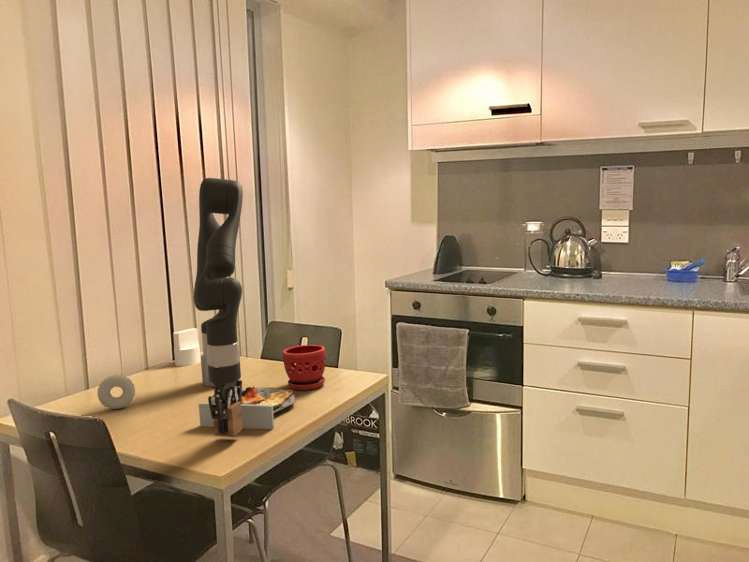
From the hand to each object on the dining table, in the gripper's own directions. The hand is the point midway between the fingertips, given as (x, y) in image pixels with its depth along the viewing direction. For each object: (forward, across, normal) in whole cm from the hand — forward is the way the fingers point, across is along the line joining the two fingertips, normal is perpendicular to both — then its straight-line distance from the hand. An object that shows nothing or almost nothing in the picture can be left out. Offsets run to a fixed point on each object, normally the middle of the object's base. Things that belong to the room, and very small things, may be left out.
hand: (228, 428), depth 145 cm
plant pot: (+3, -44, +5) cm, 44 cm away
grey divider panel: (+3, -8, -2) cm, 9 cm away
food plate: (+4, -23, -4) cm, 23 cm away
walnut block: (+1, 0, 0) cm, 1 cm away
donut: (+4, -18, -43) cm, 46 cm away
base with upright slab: (+4, -67, -48) cm, 82 cm away
